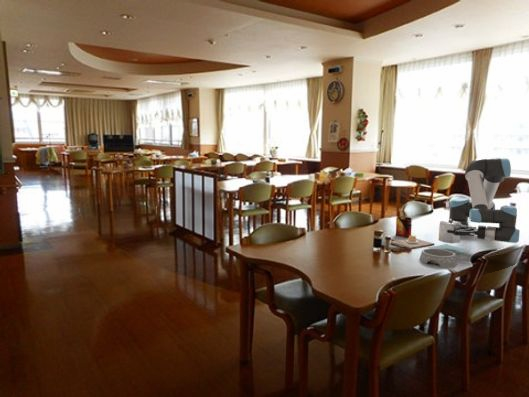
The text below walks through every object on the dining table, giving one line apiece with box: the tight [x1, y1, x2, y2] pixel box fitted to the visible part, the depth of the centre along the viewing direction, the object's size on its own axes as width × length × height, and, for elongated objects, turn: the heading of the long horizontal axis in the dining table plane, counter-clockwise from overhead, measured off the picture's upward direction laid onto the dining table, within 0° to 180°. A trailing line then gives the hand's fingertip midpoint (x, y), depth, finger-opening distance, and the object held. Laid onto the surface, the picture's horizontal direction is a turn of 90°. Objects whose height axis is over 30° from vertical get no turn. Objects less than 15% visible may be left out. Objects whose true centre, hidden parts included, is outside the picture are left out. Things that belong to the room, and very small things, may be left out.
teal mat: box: [427, 243, 471, 255], centre depth 223 cm, size 16×16×1 cm
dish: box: [406, 234, 418, 244], centre depth 234 cm, size 7×7×5 cm
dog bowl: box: [418, 248, 458, 268], centre depth 202 cm, size 17×18×5 cm
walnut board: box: [391, 238, 435, 250], centre depth 235 cm, size 20×16×2 cm
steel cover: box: [438, 218, 462, 244], centre depth 221 cm, size 11×11×13 cm
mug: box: [395, 216, 413, 238], centre depth 256 cm, size 10×14×12 cm
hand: (442, 228), depth 223 cm, fingers closed on steel cover, 11 cm apart
